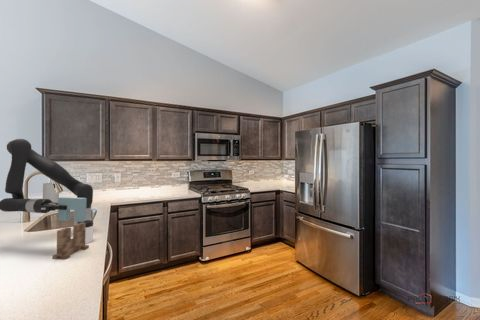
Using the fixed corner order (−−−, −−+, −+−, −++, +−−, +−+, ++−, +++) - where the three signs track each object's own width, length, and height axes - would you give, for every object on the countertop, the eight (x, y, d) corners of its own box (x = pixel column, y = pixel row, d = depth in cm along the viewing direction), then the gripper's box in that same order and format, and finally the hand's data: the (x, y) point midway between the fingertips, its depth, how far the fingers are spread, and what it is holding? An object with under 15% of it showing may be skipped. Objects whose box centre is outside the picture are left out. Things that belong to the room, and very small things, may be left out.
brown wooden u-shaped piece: (77, 247, 136) (77, 222, 136) (88, 247, 135) (89, 222, 135) (52, 258, 120) (52, 230, 120) (65, 259, 119) (65, 231, 119)
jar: (96, 239, 149) (96, 220, 149) (88, 244, 141) (88, 223, 141) (82, 239, 149) (82, 219, 149) (72, 243, 141) (73, 223, 141)
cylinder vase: (54, 210, 230) (55, 184, 230) (39, 210, 227) (40, 184, 227) (61, 207, 242) (61, 182, 242) (46, 207, 239) (47, 182, 239)
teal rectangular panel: (57, 220, 127) (58, 197, 127) (61, 219, 129) (62, 197, 129) (82, 221, 125) (83, 198, 125) (85, 220, 128) (86, 198, 128)
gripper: (26, 200, 123) (57, 202, 121) (50, 196, 136) (79, 198, 135) (26, 215, 122) (57, 217, 121) (50, 210, 136) (78, 211, 135)
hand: (68, 207), depth 128 cm, fingers closed on teal rectangular panel, 2 cm apart
